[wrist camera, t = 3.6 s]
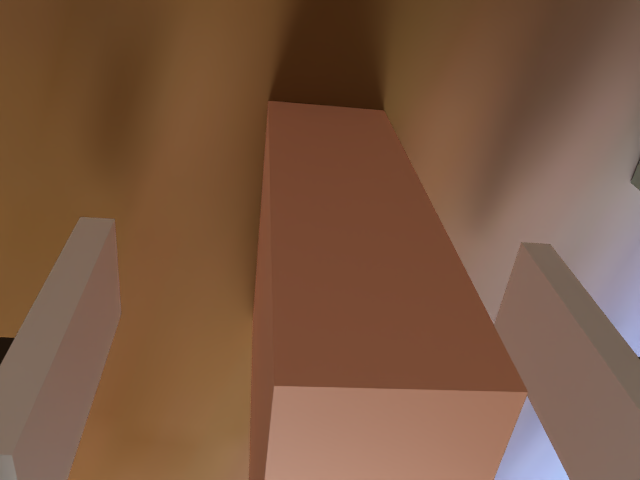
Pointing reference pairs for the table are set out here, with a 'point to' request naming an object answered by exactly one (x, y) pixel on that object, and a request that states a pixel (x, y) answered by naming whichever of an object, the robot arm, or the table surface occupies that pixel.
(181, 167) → the table surface
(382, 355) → the pink rectangular block
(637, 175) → the pale green white box
